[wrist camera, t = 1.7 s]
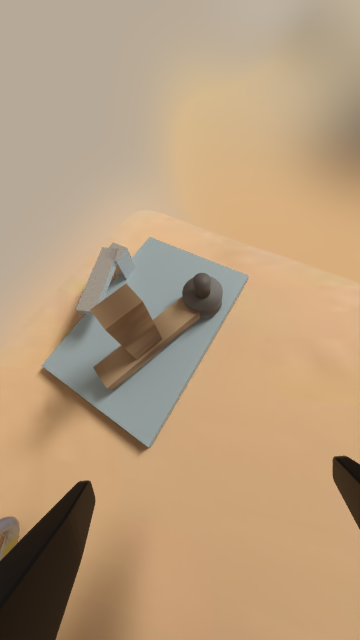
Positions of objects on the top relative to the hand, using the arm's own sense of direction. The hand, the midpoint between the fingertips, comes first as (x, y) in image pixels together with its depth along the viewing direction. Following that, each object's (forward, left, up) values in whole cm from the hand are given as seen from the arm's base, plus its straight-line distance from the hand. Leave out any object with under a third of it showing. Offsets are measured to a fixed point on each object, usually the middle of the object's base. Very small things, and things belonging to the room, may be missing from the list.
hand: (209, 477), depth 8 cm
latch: (+1, +11, -11) cm, 16 cm away
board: (0, +14, -12) cm, 18 cm away
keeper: (-3, +19, -12) cm, 23 cm away
